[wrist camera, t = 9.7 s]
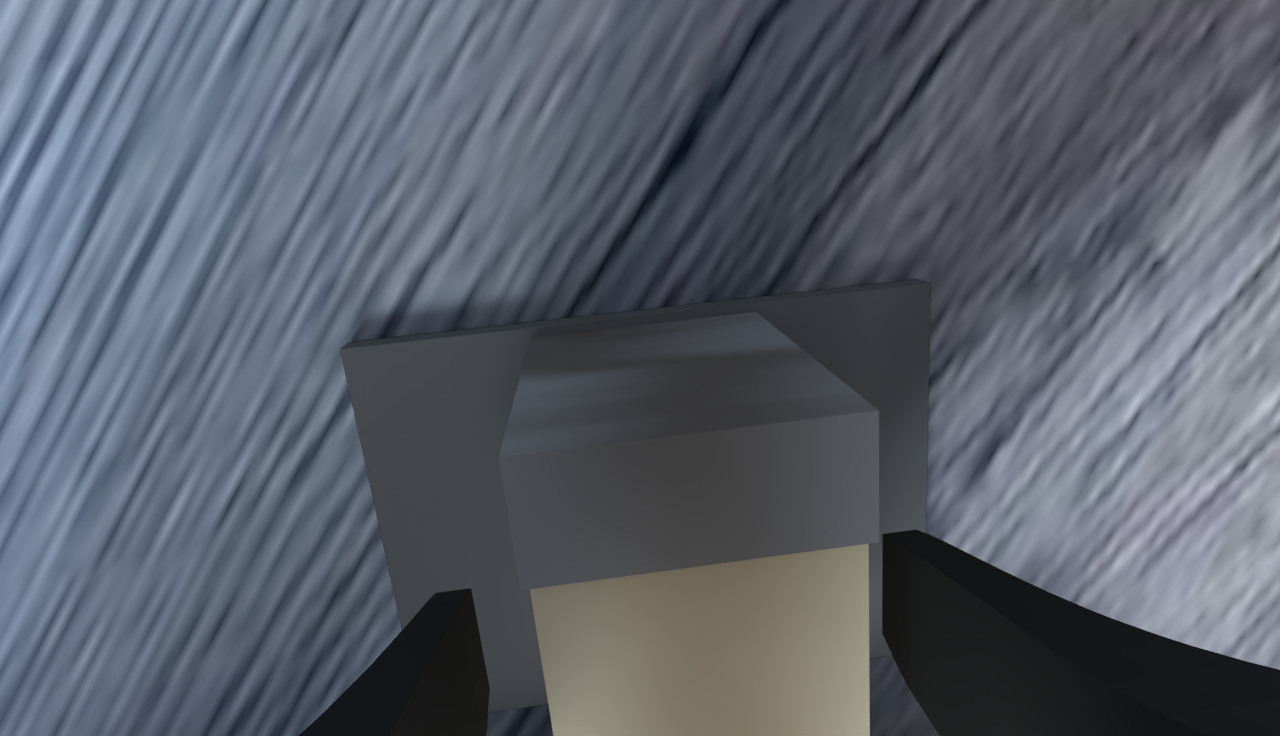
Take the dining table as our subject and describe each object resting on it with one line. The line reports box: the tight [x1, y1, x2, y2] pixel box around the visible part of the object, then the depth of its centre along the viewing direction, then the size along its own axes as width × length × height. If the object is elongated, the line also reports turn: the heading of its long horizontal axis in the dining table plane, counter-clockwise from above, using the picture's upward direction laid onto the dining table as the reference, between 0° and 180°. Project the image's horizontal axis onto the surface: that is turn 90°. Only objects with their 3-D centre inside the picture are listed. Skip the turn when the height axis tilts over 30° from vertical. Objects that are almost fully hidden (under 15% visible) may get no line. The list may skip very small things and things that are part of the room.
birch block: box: [499, 312, 879, 736], centre depth 13 cm, size 5×9×6 cm, turn 6°
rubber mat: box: [340, 279, 931, 713], centre depth 16 cm, size 12×9×1 cm
